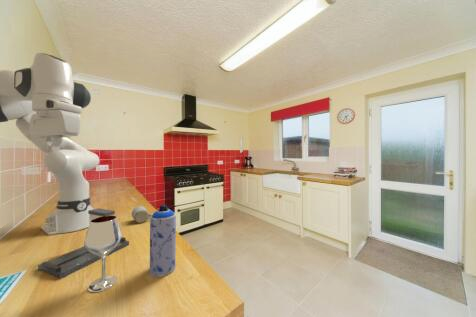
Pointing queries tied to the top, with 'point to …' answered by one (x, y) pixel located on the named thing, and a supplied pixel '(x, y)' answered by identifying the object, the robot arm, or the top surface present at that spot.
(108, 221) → the wineglass
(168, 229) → the aerosol can
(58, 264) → the fader track
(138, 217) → the light bulb
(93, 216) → the fader knob
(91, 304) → the top surface
